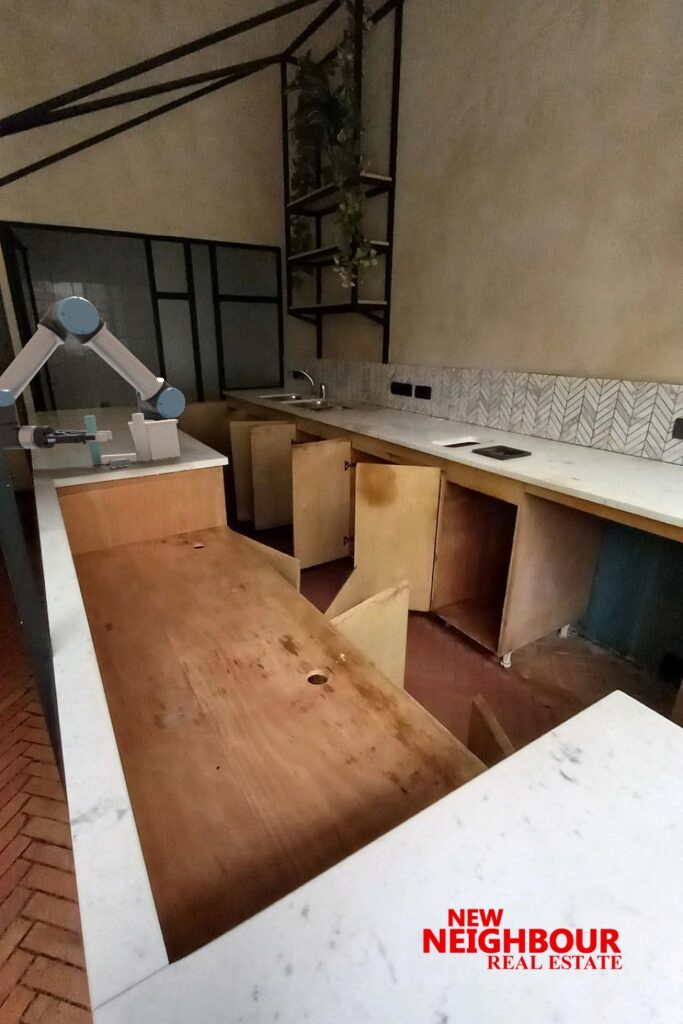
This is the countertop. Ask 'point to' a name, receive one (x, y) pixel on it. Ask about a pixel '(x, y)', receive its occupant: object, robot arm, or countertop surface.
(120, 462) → the latch block
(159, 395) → the robot arm
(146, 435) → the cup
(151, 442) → the fence stub
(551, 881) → the countertop surface
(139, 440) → the gate
